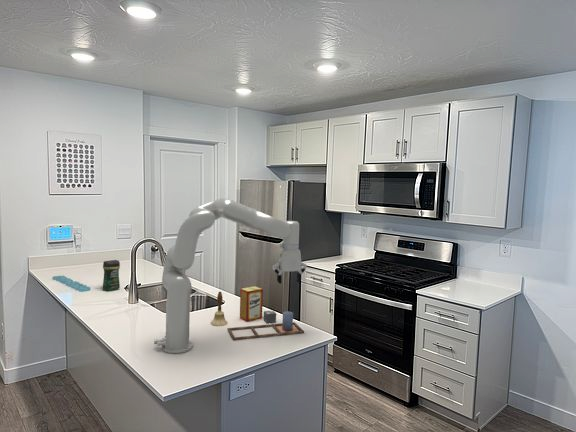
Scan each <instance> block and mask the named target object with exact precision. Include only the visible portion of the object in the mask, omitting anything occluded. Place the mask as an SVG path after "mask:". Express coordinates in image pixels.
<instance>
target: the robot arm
mask: <svg viewBox="0 0 576 432" xmlns="http://www.w3.org/2000/svg"><path fill="white" fill-rule="evenodd" d="M221 218H224V219H226V220H228V221H231V222H233V223H236V224H239V225H241V226H244V227H246V228H249V229H251V230H252V229H253V230H256V231H261V232H263V233H266V234H268V235H269V236H272V237H275V238H278V239H282V244H280V245H279V248H281V250H280V253H279V260H278V262H276V263H274V264H273V265H271V266H272V269H273V272H275V274H276V280H277V283H278V284H282V282H283V281H282V273H283V272H284V273H285V272H287V273H288V272H297V273H296V282H297V283H299V284H300V283H301V281H302V275H303V273H304V272H305V271H306V269H307V267H308V264H306V263H304V262H302V255H301V250H300V249H299V246H300V245H299V244H300V243H299V242H300V239H299V238H300V223H299V222H298V221H297V220H296V221H295V220H285V221H284V220H281V219H278V218H276V217H274V216H271V215H268V214H266V213H264V212H262V211H259V210H257V209H254V208H252V207H250V206H249V207H248V206H247V205H244V204H243V203H240V202H238V201H235V200H233V199H229V198H225V197H224V198H218V199H214V200H213V201H210V202H207V203H205V204H202V205H200V206H197V207H195V208H193V209H192V210H191V211H190V212H189V214H188V217H187V218H186V219H185V220H184V221H183V223H182V224H181V225H180V226H179V229H178V232H177V236H176V240H175V244H174V245H171V247H169V249H168V251H167V252H166V256H165V261H164V266H163V269H162V270H163V271H162V277H161V283H162V286H163V287H164V288H165V289H166V292H167V293H166V301H165V335H164V337H162V338H161V339H160V338H159V339H158V338H156V339H154V340H153V344H154V345H157V346H161V350H162V351H163V352H165V353H169V354H182V353H186V352H188V351H191V350H192V349H193V348H194V343H193V342H192V341H191V340H190V323H191V322H190V320H191V319H190V318H191V317H190V316H191V315H190V313H191V311H190V310H191V308H190V307H191V296H192V287H193V286H192V281H191V280H190V278H189V276H188V275H186V271H187V270H189V269H191V267H192V266H193V265H194V262H195V255H196V251H197V250H196V249H197V245H198V241H199V237H200V236H201V234H202V233H203V232H204V231H206V230H208V229H210V228H212V227H213V225H214V224H215V221H217V220H219V219H221ZM277 267H278V269H277Z"/></svg>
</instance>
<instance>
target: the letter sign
mask: <svg viewBox="0 0 576 432" xmlns="http://www.w3.org/2000/svg"><path fill="white" fill-rule="evenodd" d="M53 280H54V281H55V282H59V283H61V284H62V285H65V286H67V287H68V288H71V289H74V290H75V291H78V292H80V293H81V292H82V293H83V292H84V293H85V292H89V291H91V286H87V285H86V284H84V283H80V282H79V281H74V279H72V278H69V277H67V276H66V275H53V276H52V281H53Z"/></svg>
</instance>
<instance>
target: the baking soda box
mask: <svg viewBox="0 0 576 432" xmlns="http://www.w3.org/2000/svg"><path fill="white" fill-rule="evenodd" d="M263 294H264V288H261V287H258V286H256V285H255V286H249V287H244V288H243V287H242V288H240V294H239V295H240V297H239V319H240V320H242V321H243V322H246V323H248V322H249V323H250V322H253V321H258V320H261V319H262V320H263V304H264V303H263V300H264V298H263V297H264V295H263Z"/></svg>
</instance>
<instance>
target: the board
mask: <svg viewBox="0 0 576 432" xmlns="http://www.w3.org/2000/svg"><path fill="white" fill-rule="evenodd" d="M264 328H265V329H266V328H272V329H274V331H275V332H276V333H275V332H274V333H266V334H265V333H264V334H259V333H258V332H257V330H256V329H264ZM241 330H242V331H243V330H251V332H252V333H253V334H254V335H246V336H235V335H234V333H233V332H234V331H241ZM232 331H233V332H232ZM227 333H229V336H230V337H231V340H232V341H243V340H252V339H261V338H262V339H263V338H271V337H280V336H282V337H283V336H292V335H301V334H302V335H303V334H305V330H304V329H302V327H300V325H298V323H296V322H295V321H293V329H292V331H284V330H282V323H281V322H280V323H270V324H260V325H259V324H258V325H248V326H238V327H237V326H236V327H227Z"/></svg>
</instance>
